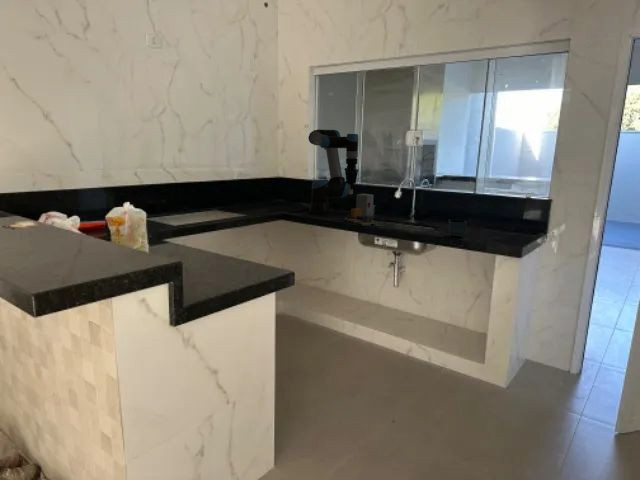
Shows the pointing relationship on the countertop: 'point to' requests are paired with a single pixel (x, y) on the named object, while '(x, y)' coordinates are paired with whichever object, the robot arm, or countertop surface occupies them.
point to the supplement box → (365, 204)
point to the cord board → (361, 220)
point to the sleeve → (356, 212)
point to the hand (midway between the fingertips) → (350, 194)
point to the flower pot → (457, 227)
